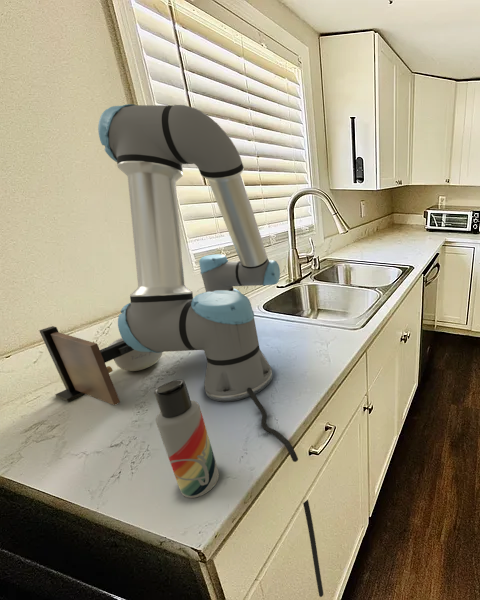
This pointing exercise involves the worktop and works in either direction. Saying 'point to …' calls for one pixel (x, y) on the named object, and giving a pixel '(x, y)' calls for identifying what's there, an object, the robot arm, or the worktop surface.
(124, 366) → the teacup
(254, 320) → the robot arm
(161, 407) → the lotion bottle
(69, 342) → the door
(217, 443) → the worktop surface
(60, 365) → the door post
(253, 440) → the worktop surface
